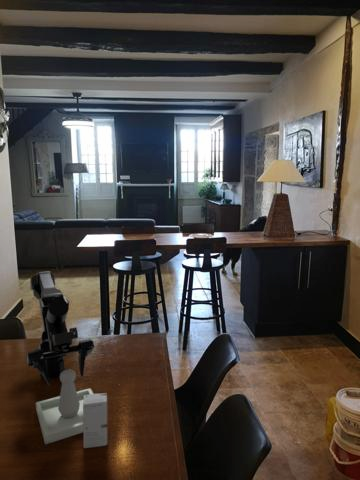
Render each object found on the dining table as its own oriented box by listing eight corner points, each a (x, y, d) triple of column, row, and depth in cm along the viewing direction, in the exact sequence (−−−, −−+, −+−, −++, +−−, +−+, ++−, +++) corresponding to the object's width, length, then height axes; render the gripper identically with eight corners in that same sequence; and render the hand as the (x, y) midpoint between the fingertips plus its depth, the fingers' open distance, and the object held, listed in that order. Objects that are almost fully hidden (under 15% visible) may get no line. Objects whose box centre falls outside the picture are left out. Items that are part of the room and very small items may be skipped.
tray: (36, 410, 107) (35, 402, 107) (90, 395, 115) (90, 388, 114) (45, 444, 93) (44, 436, 93) (106, 424, 101) (105, 417, 100)
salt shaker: (65, 423, 100) (63, 379, 98) (54, 414, 104) (52, 372, 102) (84, 413, 104) (82, 371, 102) (73, 405, 108) (71, 364, 106)
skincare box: (83, 449, 92) (81, 405, 90) (83, 437, 96) (82, 394, 94) (108, 445, 93) (107, 401, 91) (107, 433, 97) (106, 391, 95)
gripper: (25, 325, 103) (33, 380, 95) (91, 314, 111) (103, 364, 104) (24, 340, 111) (30, 392, 103) (85, 328, 120) (96, 376, 112)
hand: (66, 380), depth 105 cm, fingers open, 9 cm apart
